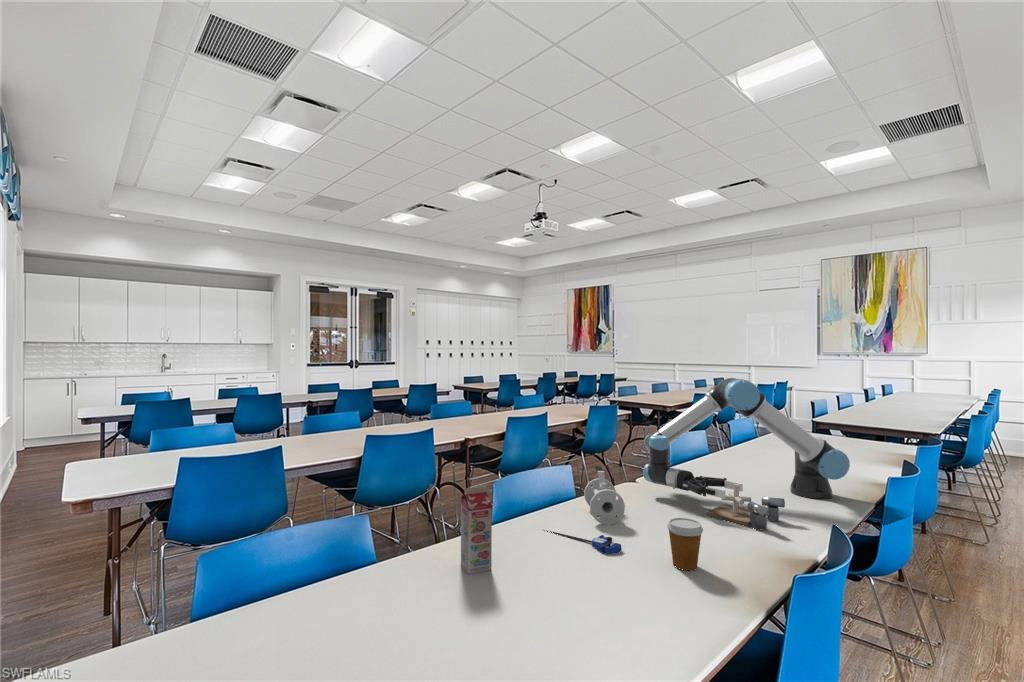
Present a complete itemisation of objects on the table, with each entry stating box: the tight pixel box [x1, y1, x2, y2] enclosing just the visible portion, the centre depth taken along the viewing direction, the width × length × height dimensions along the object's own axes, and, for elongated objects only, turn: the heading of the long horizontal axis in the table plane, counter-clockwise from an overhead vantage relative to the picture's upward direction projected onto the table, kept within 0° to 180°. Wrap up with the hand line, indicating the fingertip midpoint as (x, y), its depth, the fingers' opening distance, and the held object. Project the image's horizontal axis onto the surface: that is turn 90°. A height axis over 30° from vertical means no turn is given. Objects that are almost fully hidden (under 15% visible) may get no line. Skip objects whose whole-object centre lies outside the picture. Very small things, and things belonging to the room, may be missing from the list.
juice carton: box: [460, 485, 493, 575], centre depth 137 cm, size 7×7×22 cm
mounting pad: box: [705, 503, 753, 527], centre depth 180 cm, size 15×15×2 cm
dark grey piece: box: [747, 501, 769, 531], centre depth 168 cm, size 7×4×8 cm, turn 11°
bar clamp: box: [542, 529, 622, 555], centre depth 159 cm, size 32×2×10 cm
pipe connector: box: [720, 484, 752, 513], centre depth 180 cm, size 10×10×10 cm
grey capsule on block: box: [761, 496, 786, 524], centre depth 176 cm, size 7×4×8 cm, turn 71°
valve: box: [584, 465, 626, 526], centre depth 182 cm, size 22×12×15 cm, turn 179°
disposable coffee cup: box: [666, 517, 704, 571], centre depth 138 cm, size 10×10×12 cm
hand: (733, 491), depth 180 cm, fingers open, 13 cm apart
